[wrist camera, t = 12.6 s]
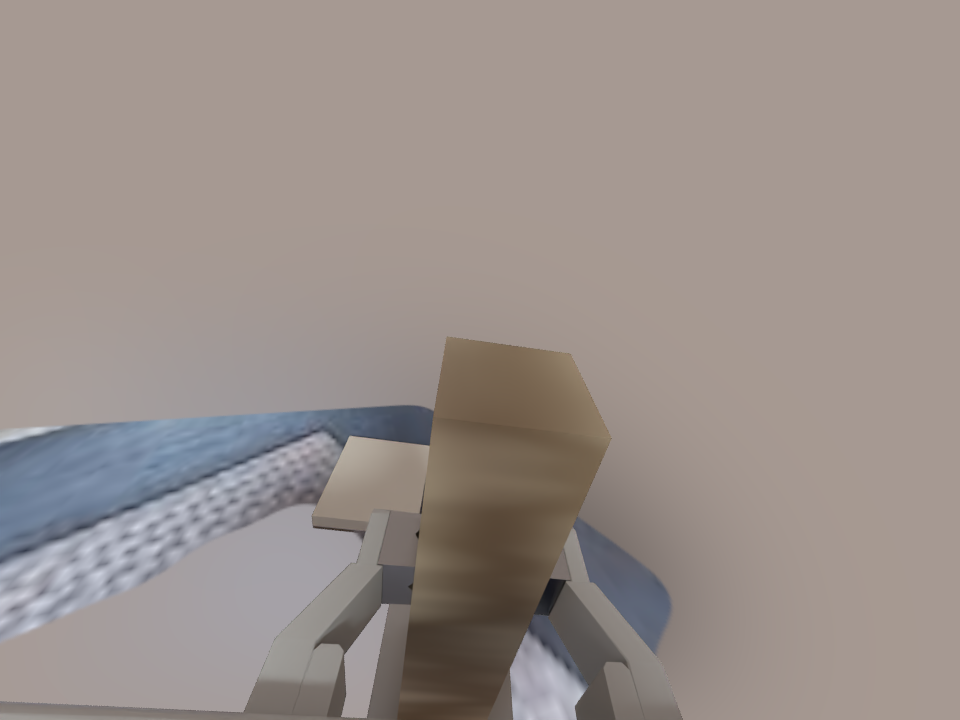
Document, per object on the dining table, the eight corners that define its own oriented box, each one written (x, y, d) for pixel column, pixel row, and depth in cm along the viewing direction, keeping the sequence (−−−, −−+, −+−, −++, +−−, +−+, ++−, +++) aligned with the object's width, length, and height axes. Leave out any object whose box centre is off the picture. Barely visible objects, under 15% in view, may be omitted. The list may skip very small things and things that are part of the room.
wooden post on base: (348, 820, 10) (323, 520, 4) (395, 576, 17) (416, 300, 10) (515, 824, 11) (745, 559, 4) (501, 585, 17) (587, 325, 10)
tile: (311, 515, 27) (349, 435, 35) (313, 528, 28) (350, 447, 36) (416, 527, 28) (431, 445, 36) (415, 539, 28) (429, 457, 36)
